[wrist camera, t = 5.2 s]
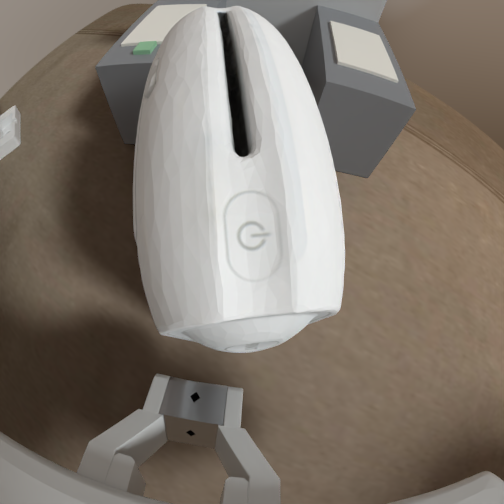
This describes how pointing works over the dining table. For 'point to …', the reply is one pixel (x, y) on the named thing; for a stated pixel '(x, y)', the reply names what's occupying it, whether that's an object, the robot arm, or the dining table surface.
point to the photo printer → (234, 187)
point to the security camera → (9, 131)
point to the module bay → (309, 57)
